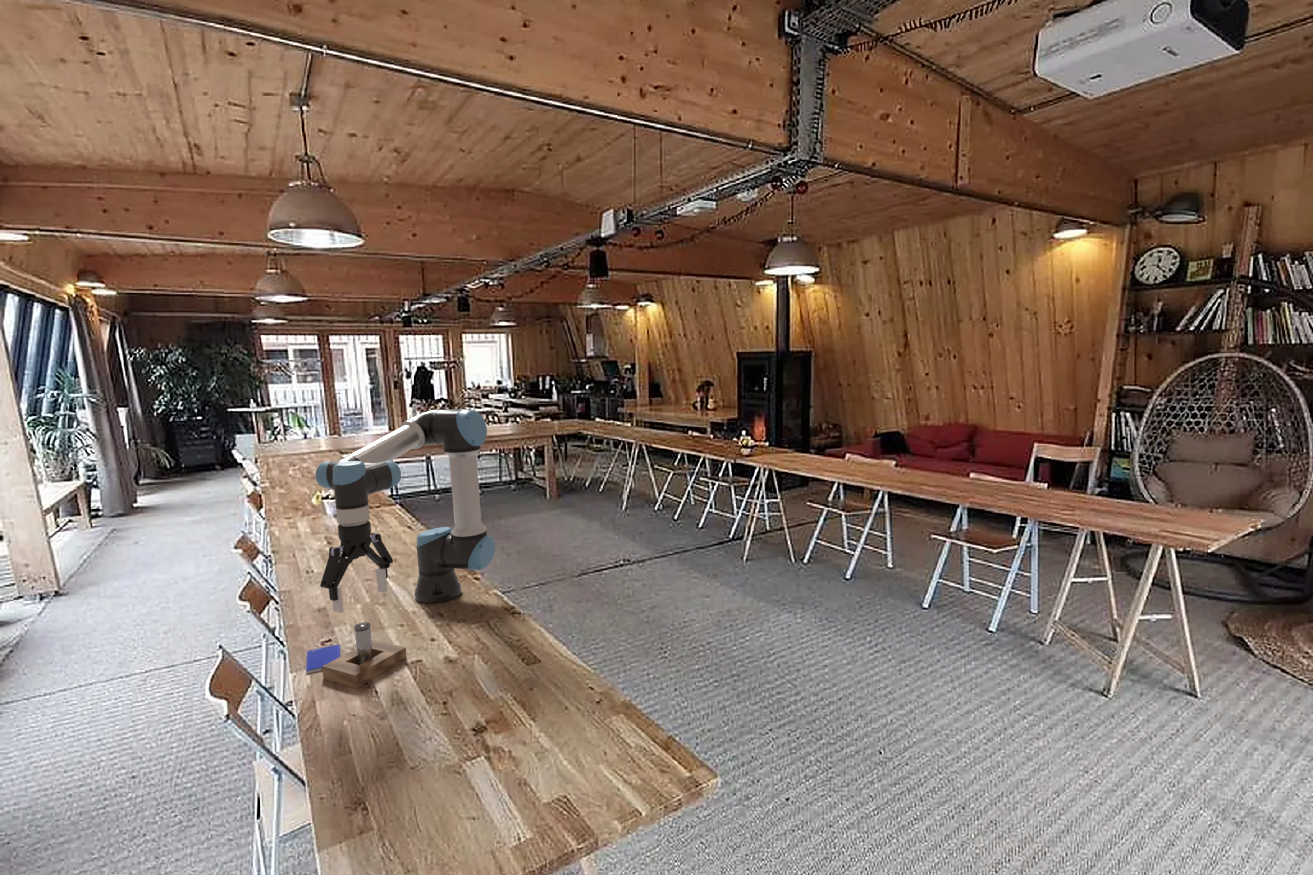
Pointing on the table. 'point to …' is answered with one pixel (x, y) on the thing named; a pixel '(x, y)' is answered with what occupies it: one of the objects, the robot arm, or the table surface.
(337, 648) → the hard drive
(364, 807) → the table surface
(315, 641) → the table surface
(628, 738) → the table surface
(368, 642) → the pin
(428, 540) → the robot arm
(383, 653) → the slot block
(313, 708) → the table surface
